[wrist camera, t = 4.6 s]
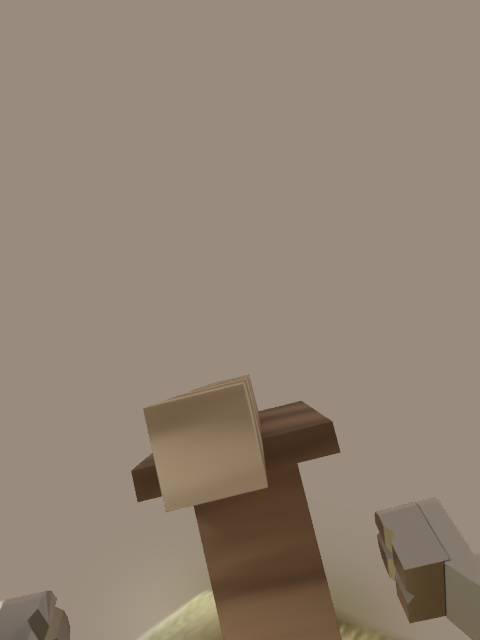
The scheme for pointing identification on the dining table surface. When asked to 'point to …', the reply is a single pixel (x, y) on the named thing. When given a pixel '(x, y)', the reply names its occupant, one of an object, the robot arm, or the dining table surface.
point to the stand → (267, 537)
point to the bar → (207, 444)
